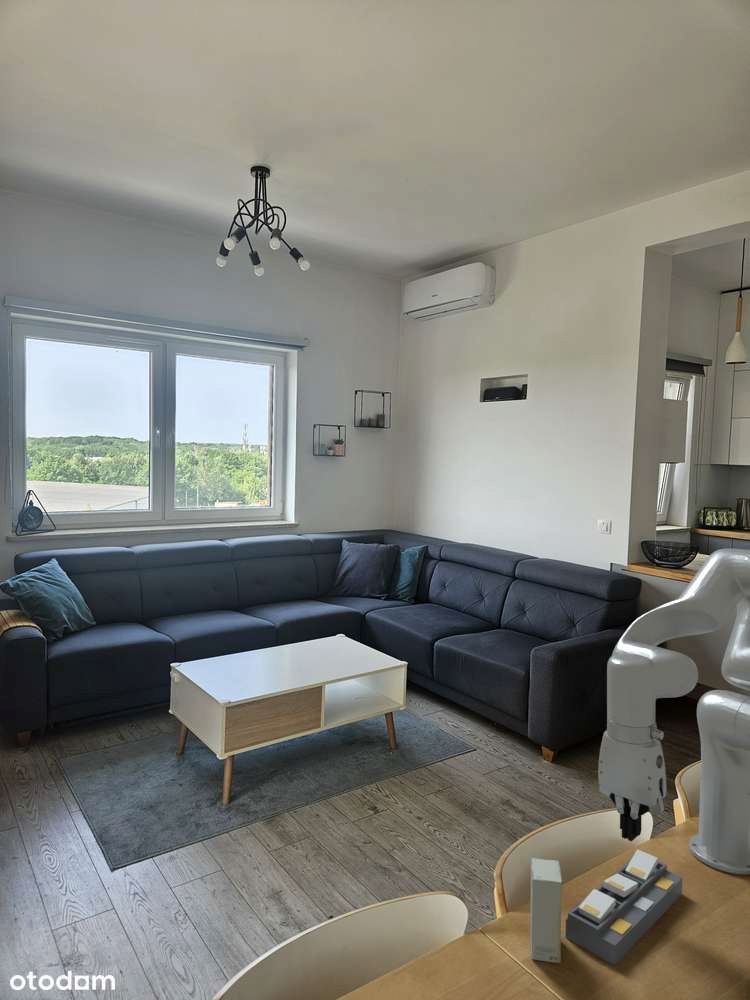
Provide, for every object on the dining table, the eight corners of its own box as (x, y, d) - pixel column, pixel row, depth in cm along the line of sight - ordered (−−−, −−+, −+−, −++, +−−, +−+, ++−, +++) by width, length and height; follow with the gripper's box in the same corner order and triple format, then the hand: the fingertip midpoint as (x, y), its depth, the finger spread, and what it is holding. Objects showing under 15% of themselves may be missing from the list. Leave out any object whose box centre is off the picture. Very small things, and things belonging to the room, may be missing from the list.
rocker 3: (638, 853, 116) (637, 848, 116) (658, 862, 114) (657, 857, 114) (626, 874, 113) (625, 870, 113) (646, 884, 111) (645, 879, 110)
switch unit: (636, 873, 119) (637, 852, 119) (681, 894, 113) (682, 871, 113) (565, 937, 101) (566, 912, 101) (614, 965, 96) (615, 938, 96)
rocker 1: (594, 894, 106) (594, 888, 105) (615, 904, 103) (615, 898, 103) (578, 912, 102) (578, 906, 102) (600, 924, 100) (600, 918, 99)
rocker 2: (616, 879, 111) (617, 872, 111) (637, 889, 108) (638, 882, 108) (603, 887, 108) (603, 880, 108) (624, 897, 105) (624, 890, 105)
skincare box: (560, 965, 96) (563, 884, 95) (530, 960, 96) (532, 879, 96) (557, 936, 102) (559, 859, 101) (528, 931, 103) (530, 855, 102)
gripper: (685, 736, 106) (685, 845, 107) (599, 712, 117) (599, 811, 117) (666, 750, 101) (666, 865, 102) (578, 723, 111) (578, 828, 112)
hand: (630, 836), depth 110 cm, fingers closed
